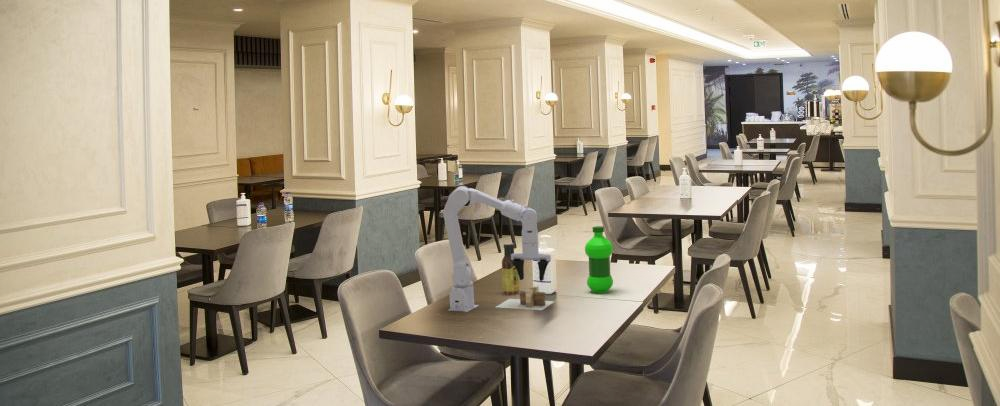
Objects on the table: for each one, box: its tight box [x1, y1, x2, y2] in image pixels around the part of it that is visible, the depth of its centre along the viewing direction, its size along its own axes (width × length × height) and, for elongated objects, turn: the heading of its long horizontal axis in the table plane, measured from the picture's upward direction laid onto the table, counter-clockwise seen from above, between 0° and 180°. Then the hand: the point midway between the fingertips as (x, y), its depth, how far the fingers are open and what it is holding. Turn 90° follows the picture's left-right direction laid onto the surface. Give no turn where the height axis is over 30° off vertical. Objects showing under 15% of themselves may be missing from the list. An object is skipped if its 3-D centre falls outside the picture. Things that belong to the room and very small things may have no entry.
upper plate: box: [524, 285, 540, 308], centre depth 271 cm, size 8×2×6 cm, turn 155°
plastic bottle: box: [584, 225, 614, 294], centre depth 287 cm, size 10×10×25 cm
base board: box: [495, 298, 556, 311], centre depth 272 cm, size 13×18×1 cm
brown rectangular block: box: [519, 290, 546, 306], centre depth 271 cm, size 2×9×4 cm, turn 66°
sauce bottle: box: [501, 242, 520, 296], centre depth 290 cm, size 7×6×20 cm
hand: (531, 279), depth 270 cm, fingers open, 7 cm apart
